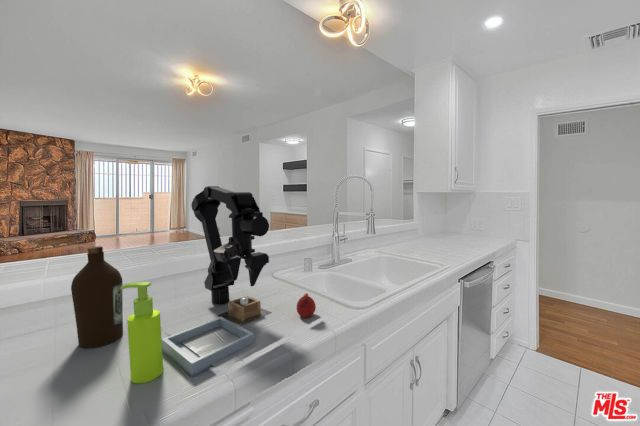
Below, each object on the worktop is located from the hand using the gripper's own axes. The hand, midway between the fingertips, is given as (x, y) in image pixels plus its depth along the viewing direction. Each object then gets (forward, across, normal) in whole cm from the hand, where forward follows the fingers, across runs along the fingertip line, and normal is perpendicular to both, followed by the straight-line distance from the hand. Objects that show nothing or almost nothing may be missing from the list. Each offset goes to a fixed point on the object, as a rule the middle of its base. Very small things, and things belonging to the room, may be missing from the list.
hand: (243, 283), depth 86 cm
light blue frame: (+11, +8, -16) cm, 21 cm away
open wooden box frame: (+10, 0, 0) cm, 10 cm away
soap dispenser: (+11, +7, -30) cm, 33 cm away
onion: (+11, +16, +11) cm, 22 cm away
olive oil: (+11, -19, -32) cm, 39 cm away
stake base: (+11, 0, 0) cm, 11 cm away
